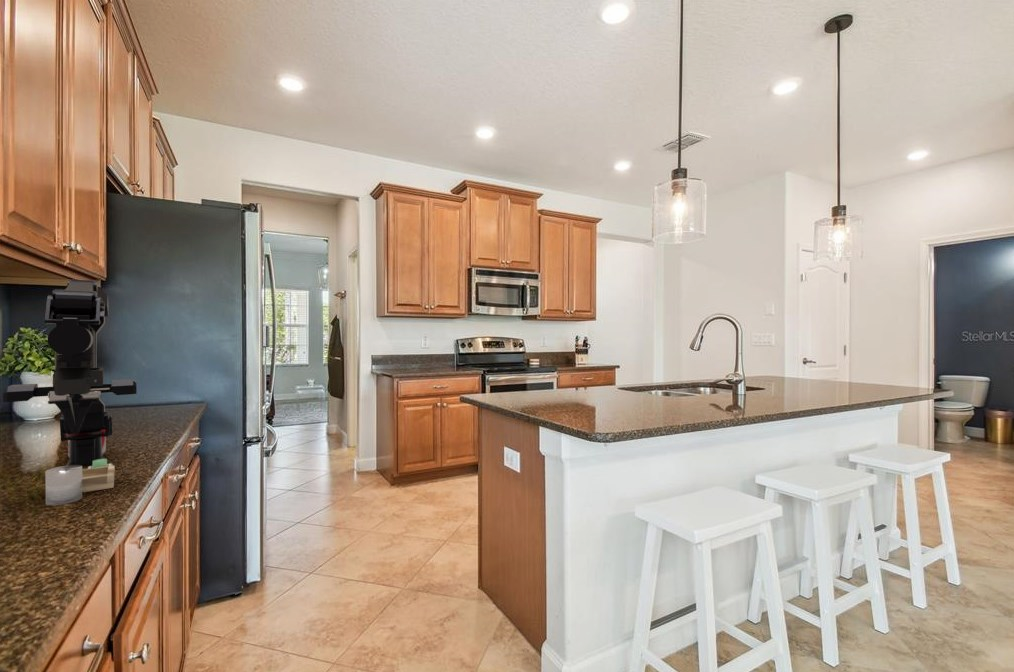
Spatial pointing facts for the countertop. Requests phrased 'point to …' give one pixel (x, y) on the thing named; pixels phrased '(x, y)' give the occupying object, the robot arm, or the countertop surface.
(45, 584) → the countertop surface
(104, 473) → the pallet
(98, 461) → the button
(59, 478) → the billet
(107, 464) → the button housing
